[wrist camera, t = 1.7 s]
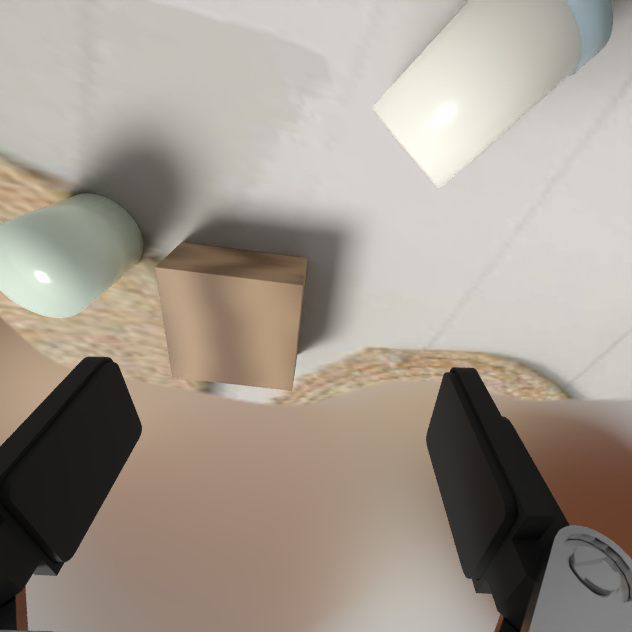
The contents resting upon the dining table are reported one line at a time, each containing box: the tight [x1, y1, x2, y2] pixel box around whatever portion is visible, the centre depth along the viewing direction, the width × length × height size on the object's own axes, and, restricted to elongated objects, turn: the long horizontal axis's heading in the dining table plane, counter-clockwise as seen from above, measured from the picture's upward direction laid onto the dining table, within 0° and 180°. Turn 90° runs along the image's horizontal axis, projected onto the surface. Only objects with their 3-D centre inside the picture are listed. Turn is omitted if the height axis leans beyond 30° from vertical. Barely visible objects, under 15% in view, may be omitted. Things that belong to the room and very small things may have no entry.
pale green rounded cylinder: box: [0, 193, 143, 318], centre depth 24 cm, size 6×6×7 cm
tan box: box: [155, 242, 308, 391], centre depth 28 cm, size 10×10×5 cm
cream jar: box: [372, 0, 613, 189], centre depth 18 cm, size 6×6×9 cm
